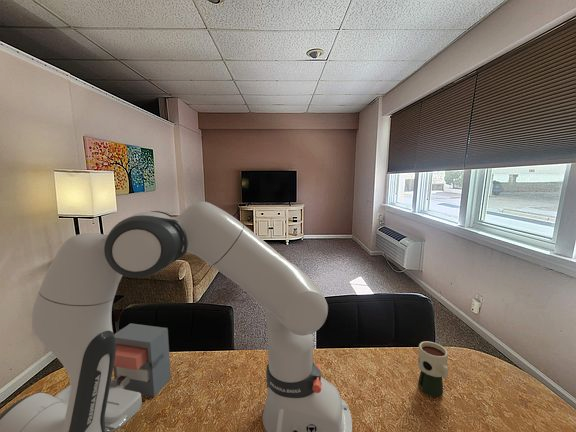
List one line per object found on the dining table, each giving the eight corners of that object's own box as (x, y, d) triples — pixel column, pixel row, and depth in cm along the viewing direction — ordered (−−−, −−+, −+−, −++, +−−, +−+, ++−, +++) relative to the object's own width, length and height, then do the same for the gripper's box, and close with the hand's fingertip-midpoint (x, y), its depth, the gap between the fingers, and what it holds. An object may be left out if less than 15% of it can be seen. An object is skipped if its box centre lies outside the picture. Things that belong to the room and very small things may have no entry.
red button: (136, 370, 65) (135, 358, 65) (105, 364, 67) (104, 353, 67) (148, 359, 69) (147, 348, 69) (118, 354, 71) (117, 343, 71)
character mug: (407, 377, 77) (409, 338, 75) (428, 374, 78) (430, 336, 76) (432, 408, 66) (435, 363, 65) (456, 405, 67) (460, 360, 66)
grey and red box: (154, 397, 70) (150, 342, 68) (115, 389, 72) (110, 336, 70) (170, 378, 77) (167, 328, 75) (134, 371, 79) (130, 323, 77)
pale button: (147, 381, 69) (146, 370, 69) (117, 376, 71) (116, 365, 71) (157, 371, 73) (156, 360, 73) (128, 366, 75) (127, 356, 75)
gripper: (110, 422, 52) (157, 373, 66) (35, 404, 56) (94, 361, 70) (113, 448, 53) (159, 395, 66) (38, 428, 57) (96, 382, 71)
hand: (125, 377), depth 68 cm, fingers closed
